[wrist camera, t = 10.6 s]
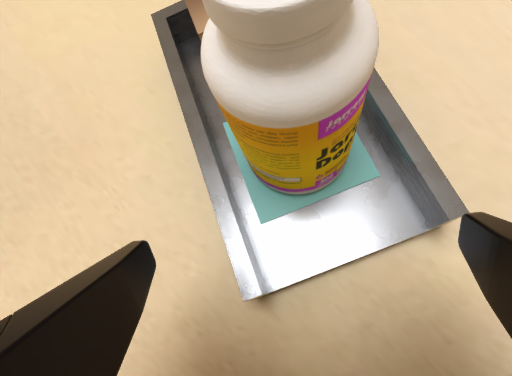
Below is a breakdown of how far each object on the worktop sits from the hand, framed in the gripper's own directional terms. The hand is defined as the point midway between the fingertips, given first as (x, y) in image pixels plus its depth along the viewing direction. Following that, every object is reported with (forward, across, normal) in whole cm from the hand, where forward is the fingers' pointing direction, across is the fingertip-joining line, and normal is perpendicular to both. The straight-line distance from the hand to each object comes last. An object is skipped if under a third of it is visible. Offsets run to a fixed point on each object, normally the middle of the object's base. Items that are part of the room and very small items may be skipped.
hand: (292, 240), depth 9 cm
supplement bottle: (+12, 0, +2) cm, 12 cm away
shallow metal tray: (+15, +1, 0) cm, 15 cm away
